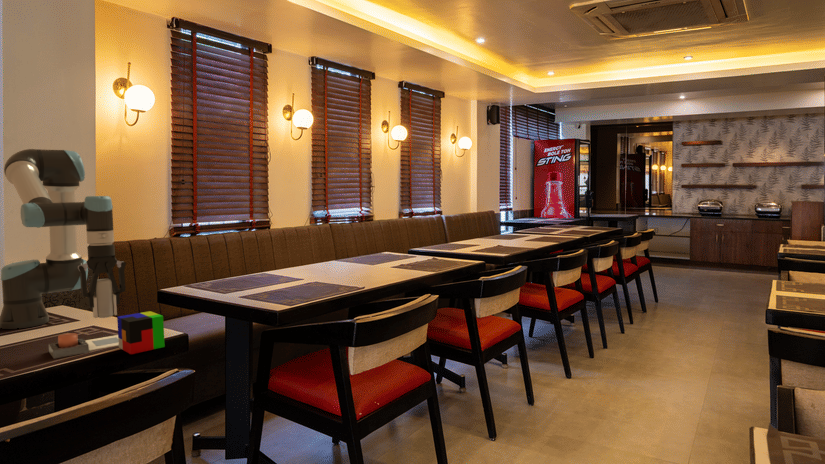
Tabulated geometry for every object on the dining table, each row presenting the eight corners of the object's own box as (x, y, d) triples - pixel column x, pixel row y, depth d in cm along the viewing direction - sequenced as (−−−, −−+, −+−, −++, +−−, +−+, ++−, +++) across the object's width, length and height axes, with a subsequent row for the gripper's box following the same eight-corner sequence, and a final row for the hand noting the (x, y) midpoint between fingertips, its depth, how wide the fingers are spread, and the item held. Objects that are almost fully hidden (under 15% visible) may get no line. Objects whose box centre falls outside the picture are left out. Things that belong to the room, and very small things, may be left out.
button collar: (49, 351, 164) (48, 344, 163) (82, 345, 170) (82, 338, 169) (53, 358, 157) (53, 350, 157) (88, 352, 163) (88, 344, 163)
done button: (57, 346, 163) (56, 335, 163) (76, 343, 167) (75, 332, 166) (60, 349, 160) (59, 338, 159) (79, 346, 163) (78, 335, 163)
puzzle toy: (118, 348, 167) (117, 316, 167) (151, 341, 175) (150, 311, 174) (130, 354, 161) (129, 322, 160) (164, 347, 168) (163, 315, 167)
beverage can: (106, 318, 169) (103, 281, 168) (93, 318, 170) (90, 280, 169) (117, 315, 174) (115, 278, 173) (104, 314, 175) (102, 278, 174)
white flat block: (81, 342, 174) (81, 340, 174) (122, 335, 182) (121, 334, 182) (89, 350, 164) (89, 349, 164) (132, 343, 172) (132, 342, 172)
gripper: (70, 247, 162) (75, 322, 164) (134, 242, 174) (138, 313, 175) (66, 245, 167) (70, 318, 169) (128, 241, 179) (132, 309, 181)
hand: (105, 315), depth 172 cm, fingers closed on beverage can, 5 cm apart
